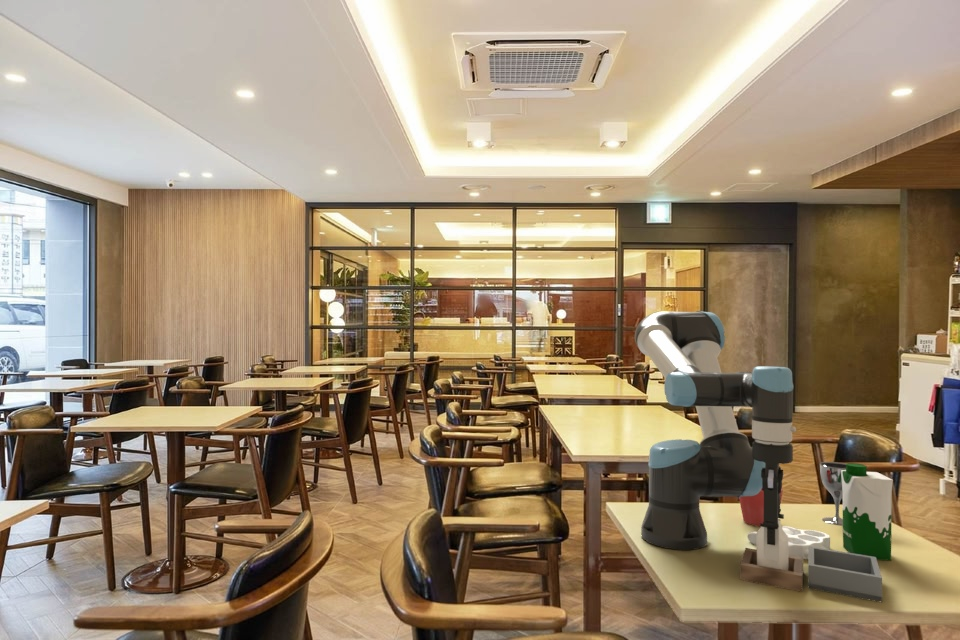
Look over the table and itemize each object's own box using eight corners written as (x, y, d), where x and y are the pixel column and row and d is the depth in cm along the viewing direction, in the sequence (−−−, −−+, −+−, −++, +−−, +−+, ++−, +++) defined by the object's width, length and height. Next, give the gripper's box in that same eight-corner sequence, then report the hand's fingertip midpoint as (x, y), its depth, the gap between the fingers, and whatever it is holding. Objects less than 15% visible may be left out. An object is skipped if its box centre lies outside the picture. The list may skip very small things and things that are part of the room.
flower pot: (747, 513, 164) (747, 478, 164) (789, 523, 156) (789, 486, 156) (729, 521, 157) (729, 484, 157) (772, 532, 149) (772, 493, 149)
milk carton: (837, 545, 140) (837, 460, 140) (880, 548, 138) (879, 462, 138) (852, 559, 131) (852, 468, 132) (898, 562, 129) (898, 471, 130)
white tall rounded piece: (759, 520, 120) (753, 512, 125) (759, 579, 120) (753, 569, 125) (792, 522, 118) (784, 514, 124) (792, 582, 118) (784, 571, 124)
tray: (808, 588, 116) (808, 565, 116) (808, 567, 126) (808, 546, 126) (882, 602, 110) (882, 578, 110) (876, 579, 120) (875, 557, 121)
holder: (740, 579, 120) (740, 564, 120) (745, 561, 129) (745, 547, 129) (802, 591, 114) (802, 576, 114) (803, 572, 124) (803, 557, 124)
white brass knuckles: (789, 534, 148) (847, 555, 135) (737, 545, 140) (793, 567, 127) (789, 521, 148) (847, 540, 135) (737, 531, 140) (793, 552, 127)
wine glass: (861, 526, 154) (861, 468, 154) (830, 526, 154) (830, 468, 154) (843, 517, 162) (843, 462, 162) (814, 516, 162) (814, 461, 162)
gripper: (791, 450, 112) (791, 574, 112) (794, 436, 129) (794, 544, 128) (748, 446, 116) (748, 566, 116) (756, 433, 132) (755, 538, 132)
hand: (772, 554), depth 122 cm, fingers closed on white tall rounded piece, 5 cm apart
